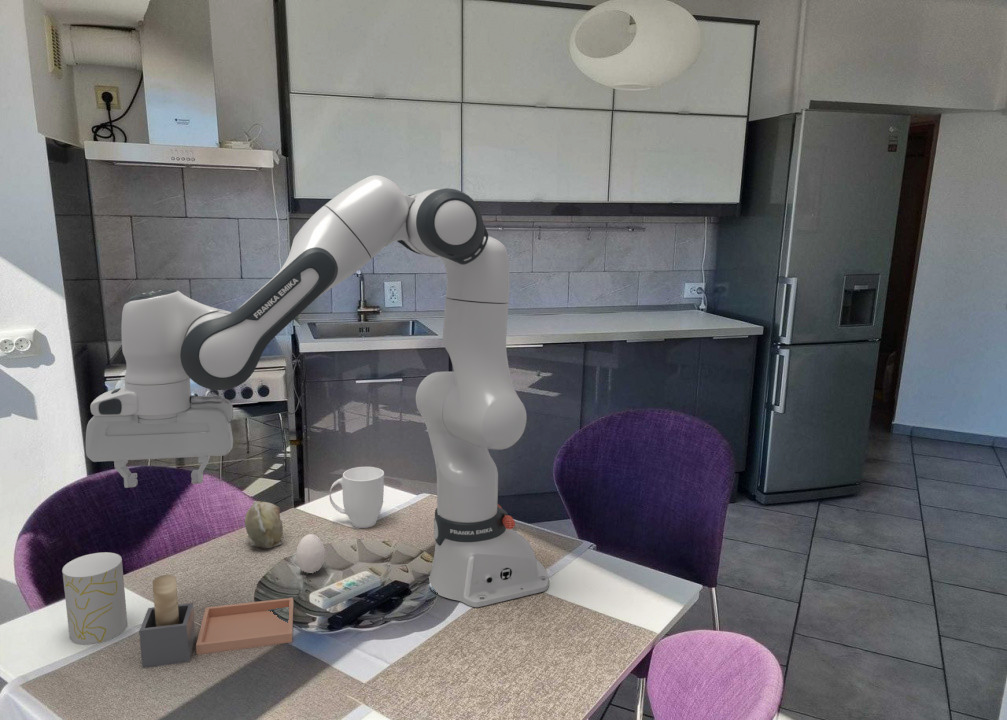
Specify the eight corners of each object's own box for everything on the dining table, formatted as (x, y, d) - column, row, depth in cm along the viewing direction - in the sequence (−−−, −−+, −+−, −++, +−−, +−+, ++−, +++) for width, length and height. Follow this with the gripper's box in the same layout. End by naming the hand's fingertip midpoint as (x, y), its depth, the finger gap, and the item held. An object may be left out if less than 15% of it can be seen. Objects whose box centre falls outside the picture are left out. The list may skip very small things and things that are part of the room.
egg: (308, 582, 132) (307, 543, 130) (290, 573, 135) (289, 535, 133) (331, 571, 136) (330, 534, 134) (313, 563, 139) (312, 526, 138)
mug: (385, 514, 162) (385, 465, 159) (383, 532, 154) (382, 480, 151) (333, 515, 161) (331, 465, 158) (327, 533, 152) (326, 481, 150)
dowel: (182, 644, 111) (177, 573, 109) (179, 656, 108) (174, 584, 106) (160, 647, 110) (154, 576, 108) (156, 659, 107) (150, 586, 105)
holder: (195, 640, 113) (193, 602, 112) (189, 665, 107) (186, 625, 106) (151, 646, 111) (148, 607, 110) (142, 671, 105) (139, 630, 104)
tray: (293, 608, 123) (293, 597, 122) (292, 645, 112) (291, 633, 112) (206, 618, 119) (205, 607, 119) (196, 657, 109) (196, 645, 108)
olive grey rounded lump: (264, 563, 143) (255, 527, 138) (235, 547, 147) (226, 511, 142) (298, 534, 150) (291, 499, 145) (270, 519, 154) (262, 484, 149)
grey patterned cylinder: (62, 651, 110) (54, 579, 107) (78, 622, 117) (71, 555, 115) (121, 644, 112) (114, 573, 109) (132, 616, 119) (127, 550, 117)
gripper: (234, 390, 113) (238, 473, 116) (91, 394, 108) (98, 481, 111) (229, 400, 107) (233, 487, 110) (77, 405, 102) (85, 496, 105)
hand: (164, 484), depth 110 cm, fingers open, 8 cm apart
